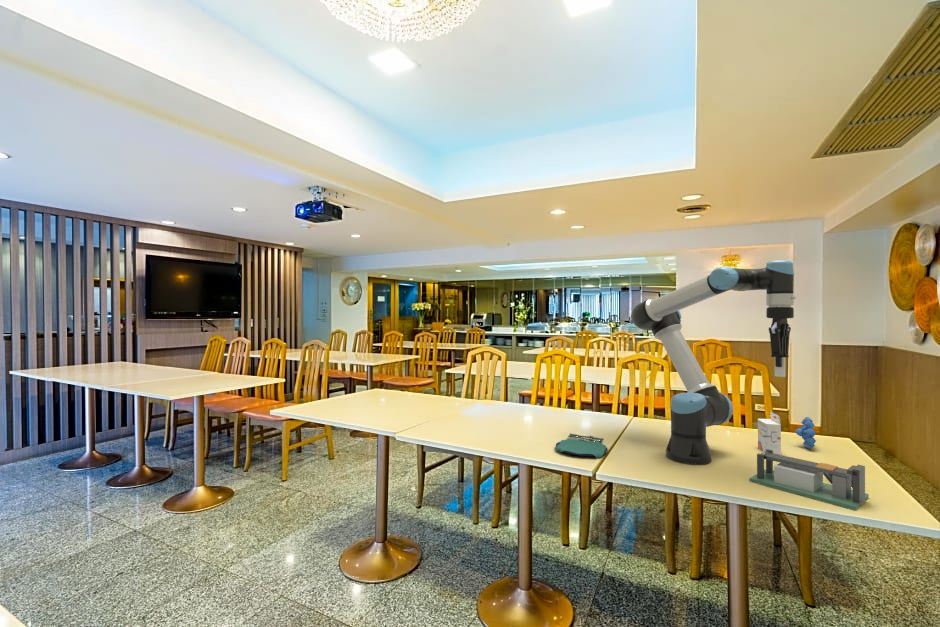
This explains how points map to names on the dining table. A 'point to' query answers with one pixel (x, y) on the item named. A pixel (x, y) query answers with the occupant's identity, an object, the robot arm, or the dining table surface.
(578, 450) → the teal clutch purse
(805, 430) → the grapes
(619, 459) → the dining table surface
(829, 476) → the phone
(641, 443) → the dining table surface
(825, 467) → the clamp bar
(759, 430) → the ink cartridge box
